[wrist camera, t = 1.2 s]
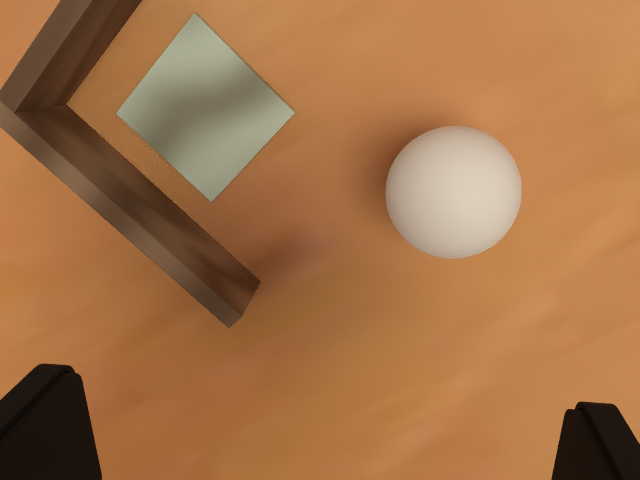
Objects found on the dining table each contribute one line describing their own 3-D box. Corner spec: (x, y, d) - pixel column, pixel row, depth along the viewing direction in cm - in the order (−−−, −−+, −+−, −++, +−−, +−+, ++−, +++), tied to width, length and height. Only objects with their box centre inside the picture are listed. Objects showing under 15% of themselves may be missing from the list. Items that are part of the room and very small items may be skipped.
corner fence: (451, 99, 31) (464, 108, 26) (248, 292, 36) (229, 328, 32) (220, -149, 28) (187, -190, 23) (40, 104, 33) (-16, 113, 29)
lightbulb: (375, 121, 31) (371, 157, 21) (479, 95, 30) (527, 120, 20) (396, 216, 33) (402, 291, 23) (494, 196, 32) (547, 264, 22)
